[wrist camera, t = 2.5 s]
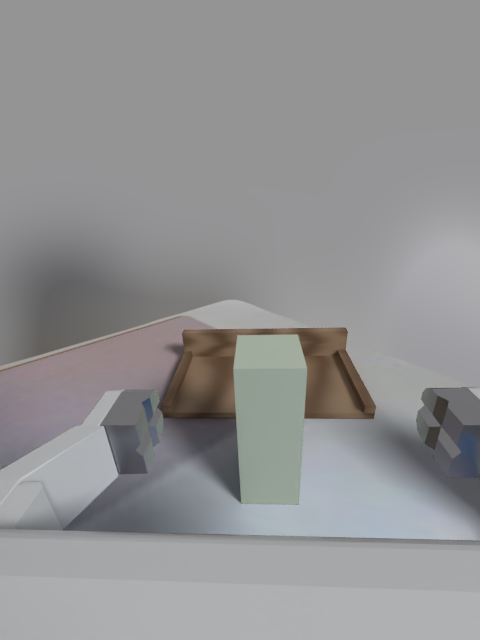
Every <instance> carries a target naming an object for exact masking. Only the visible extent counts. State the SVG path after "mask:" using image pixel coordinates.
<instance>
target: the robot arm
mask: <svg viewBox="0 0 480 640" xmlns="http://www.w3.org/2000/svg"><path fill="white" fill-rule="evenodd" d="M421 400H422V402H423V403H424V405H425V406H423V407H422V408H421V409H420V410H419V411H418V414H417V419H416V422H417V430H418V432H419V435H420V437H421V439H422V440H423V442H424V443H425V444H426V445H428V446H429V447H431V448H432V449H434V454H433V457H434V459H435V460H436V462H437V463H438V465H439V466H440V468H441V469H442V471H443V472H444V474H445V475H446V477H465V478H480V387H462V388H426V389H425V390H424V392H423V394H422V398H421ZM159 402H160V399H159V395H158V392H157V391H156V390H108V391H106V392H105V394H104V395H103V396H102V398H101V399H100V400H99V402H98V403H97V404H96V406H95V407H94V408H93V410H92V411H91V413H90V414H89V415H88V417H87V418H86V419H85V421H84V422H83V423H82V425H81V426H75V427H73V428H71V429H69V430H68V431H66V432H64V433H63V434H61V435H59V436H58V437H56V438H54V439H52V440H51V441H49V442H47V443H46V444H44V445H42V446H41V447H39V448H37V449H35V450H34V451H32V452H30V453H29V454H27V455H25V456H23V457H22V458H20V459H18V460H17V461H15V462H13V463H12V464H10V465H8V466H6V467H5V468H3V469H1V470H0V640H480V541H474V540H431V539H388V538H347V537H306V536H266V535H225V534H184V533H143V532H101V531H63V529H64V528H65V527H66V526H67V525H68V524H69V523H70V522H71V521H72V520H74V519H75V518H76V517H77V516H78V515H79V514H80V513H81V512H82V511H83V510H84V509H85V508H86V507H87V506H88V505H89V504H90V503H91V502H92V501H93V500H94V499H95V498H96V497H97V496H98V495H99V494H100V493H101V492H102V491H103V490H105V489H106V488H107V487H108V486H109V485H110V484H111V483H112V482H113V481H114V480H115V479H116V478H117V477H118V476H119V474H147V473H148V471H149V468H150V465H151V463H152V460H153V458H154V455H155V453H154V449H153V447H154V446H156V445H157V444H158V443H159V442H160V439H161V436H162V431H163V414H162V411H161V410H160V409H159V408H157V406H158V404H159Z"/></svg>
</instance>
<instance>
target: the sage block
mask: <svg viewBox="0 0 480 640" xmlns="http://www.w3.org/2000/svg"><path fill="white" fill-rule="evenodd" d="M233 373H234V390H235V407H236V424H237V441H238V458H239V475H240V492H241V503H242V504H287V505H299V493H300V477H301V461H302V445H303V429H304V413H305V397H306V381H307V365H306V362H305V358H304V355H303V351H302V348H301V344H300V340H299V337H298V334H294V335H237V343H236V351H235V359H234V367H233Z"/></svg>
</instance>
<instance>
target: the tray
mask: <svg viewBox="0 0 480 640" xmlns="http://www.w3.org/2000/svg"><path fill="white" fill-rule="evenodd" d="M347 333H348V332H347V329H346V328H287V329H215V330H184V331H183V333H182V336H183V343H184V351H185V352H184V354H183V356H182V359H181V361H180V363H179V365H178V368H177V370H176V372H175V375H174V377H173V379H172V382H171V384H170V386H169V389H168V391H167V393H166V396H165V398H164V400H163V402H162V405H161V408H162V414H163V418H236V407H235V390H234V373H233V367H234V359H235V351H236V343H237V335H294V334H298V337H299V340H300V344H301V348H302V351H303V355H304V358H305V362H306V365H307V381H306V397H305V413H304V418H359V419H374V414H375V409H376V405H375V404H374V402H373V400H372V398H371V396H370V394H369V393H368V391H367V389H366V387H365V385H364V383H363V381H362V380H361V378H360V376H359V374H358V372H357V370H356V369H355V367H354V365H353V363H352V361H351V359H350V357H349V356H348V354H347V352H346V350H345V349H346V341H347Z"/></svg>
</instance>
